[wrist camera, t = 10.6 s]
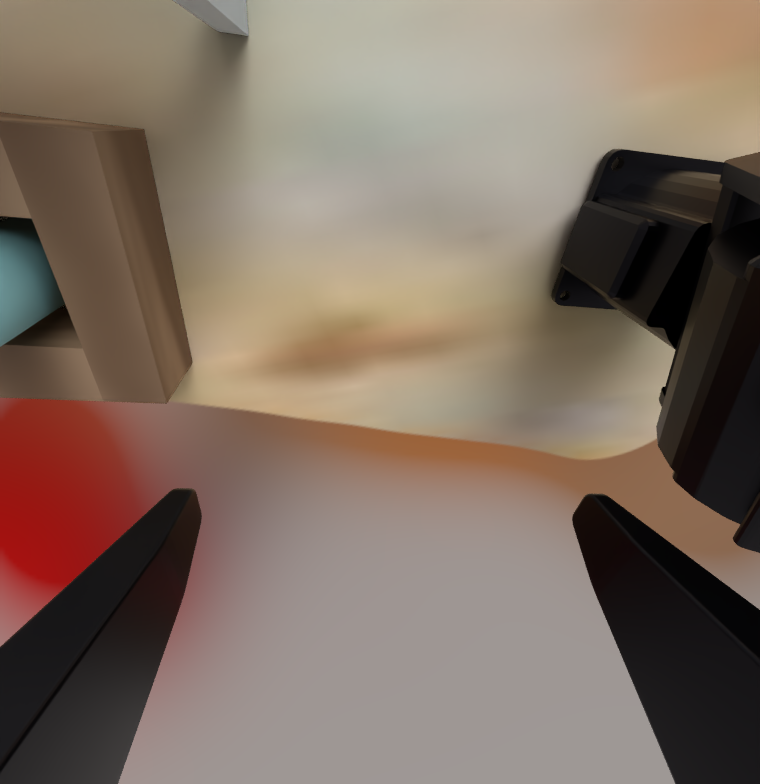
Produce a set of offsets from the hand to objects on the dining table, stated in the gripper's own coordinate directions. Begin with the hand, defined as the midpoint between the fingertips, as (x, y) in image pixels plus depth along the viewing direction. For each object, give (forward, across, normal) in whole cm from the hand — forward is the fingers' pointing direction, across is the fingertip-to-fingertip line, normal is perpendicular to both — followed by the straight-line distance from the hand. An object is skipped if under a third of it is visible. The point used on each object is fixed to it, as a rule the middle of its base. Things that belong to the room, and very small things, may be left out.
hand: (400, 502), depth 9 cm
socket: (+12, +14, -1) cm, 18 cm away
